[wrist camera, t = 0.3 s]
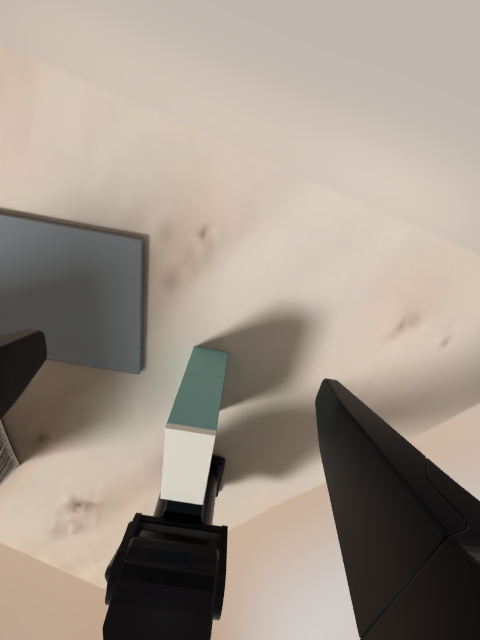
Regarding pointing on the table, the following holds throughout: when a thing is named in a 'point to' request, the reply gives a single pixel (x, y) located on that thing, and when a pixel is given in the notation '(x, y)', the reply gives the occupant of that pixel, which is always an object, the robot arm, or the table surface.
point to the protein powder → (6, 456)
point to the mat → (73, 291)
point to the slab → (193, 427)
